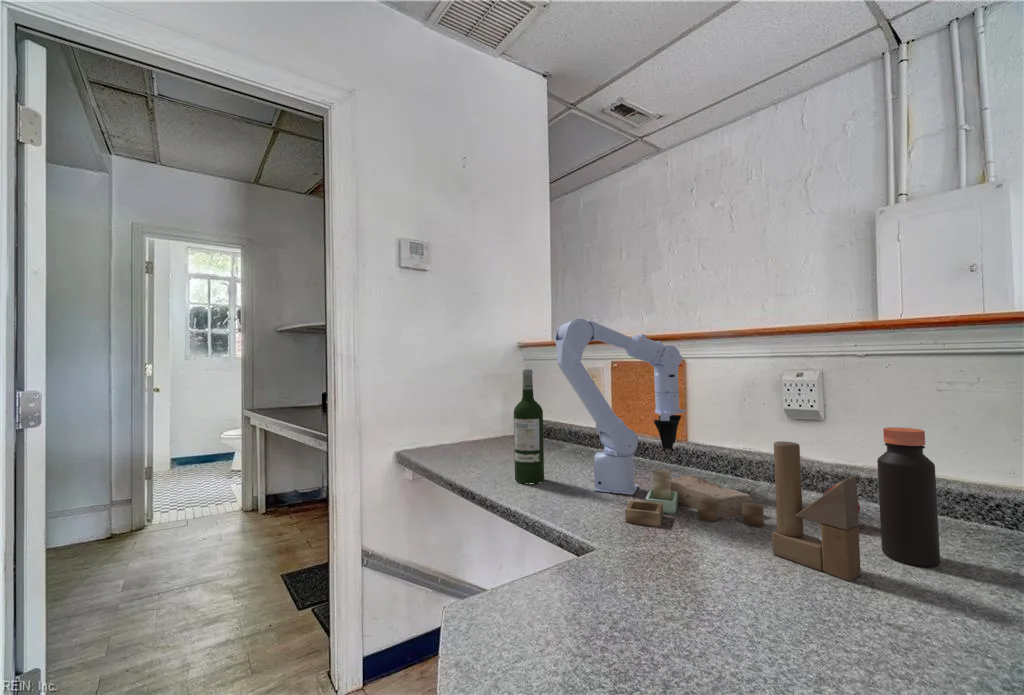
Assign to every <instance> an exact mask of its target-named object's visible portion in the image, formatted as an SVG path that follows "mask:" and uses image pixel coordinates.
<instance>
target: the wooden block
mask: <svg viewBox="0 0 1024 695" xmlns="http://www.w3.org/2000/svg"><path fill="white" fill-rule="evenodd" d="M800 449H801V446H800V444H799V443H797V442H793V441H780V440H779V441H775V442H774V443H773V459H774V461H773V462H774V485H775V504H776V505H775V507H776V530H775V531H773V532H772V533H771V535H772V536H771V537H772V554H773V555H775V556H778V557H780V558H784V559H787V560H790V561H792V562H794V563H796V564H797V563H798V564H800V565H803V566H806V567H809V568H811V569H815V570H818V571H821V572H822V571H823V573H825V574H828V575H831V576H834V577H836V578H839V579H842V580H845V581H848V582H849V581H850V582H851V581H854V580H855V579H857V578H859V577H860V576H861V574H862V572H861V555H860V554H861V551H860V548H861V547H860V531H859V530H860V529H859V514H858V504H857V501H858V488H857V487H858V486H857V477H856V476H853V477H850V478H847V479H844V480H842V481H840V482H841V483H840V484H838V485H837V486H835V485H834V486H835V487H834V488H833V489H831V490H830V491H828V492H827V493H826V494H824V493H823V494H824V495H823V494H822V496H820V497H819V498H816V500H814V501H813V502H812V503H810V504H809V505H808V506H806V507H805V508H803V495H802V494H803V492H802V490H803V488H802V474H801V473H802V471H801V470H802V468H801V466H802V465H801V450H800ZM804 520H808V521H811V522H815V523H819V524H821V525H820V530H821V531H820V532H821V533H820V535H821V539H820V538H818V537H815V536H812V535H809V534H805V533H804Z"/></svg>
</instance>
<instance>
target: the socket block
mask: <svg viewBox="0 0 1024 695" xmlns="http://www.w3.org/2000/svg"><path fill="white" fill-rule="evenodd" d="M624 511H625V512H624V513H625V523H629V524H636V525H644V526H652V527H659V528H660V527H661V524H662V521H663V518H664V513H663V503H654V502H646V501H644V500H643V501H642V500H634V499H631V500H630V501H629V502H628V504H627V506H626V508H625V510H624Z"/></svg>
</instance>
